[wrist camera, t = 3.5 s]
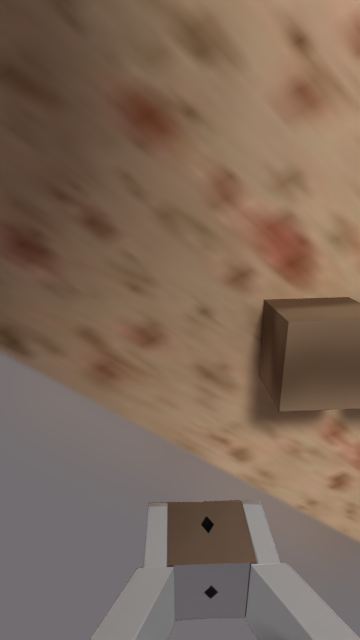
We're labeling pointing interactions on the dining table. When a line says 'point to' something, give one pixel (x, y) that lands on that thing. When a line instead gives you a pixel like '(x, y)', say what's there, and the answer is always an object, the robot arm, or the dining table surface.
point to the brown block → (311, 353)
